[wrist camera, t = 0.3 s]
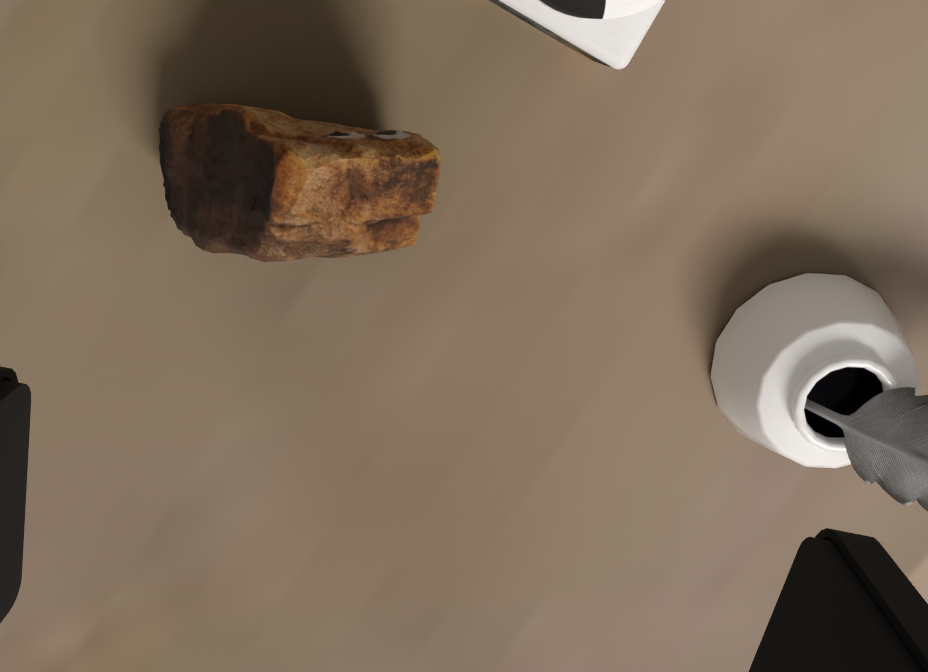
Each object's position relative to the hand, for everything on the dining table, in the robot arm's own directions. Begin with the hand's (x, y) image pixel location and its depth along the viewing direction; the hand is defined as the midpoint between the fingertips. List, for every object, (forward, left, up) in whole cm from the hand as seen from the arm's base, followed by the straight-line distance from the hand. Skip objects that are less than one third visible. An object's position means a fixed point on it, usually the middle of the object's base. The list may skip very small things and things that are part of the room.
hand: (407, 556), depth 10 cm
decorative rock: (+1, -6, -31) cm, 31 cm away
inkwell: (+6, +23, -31) cm, 39 cm away
